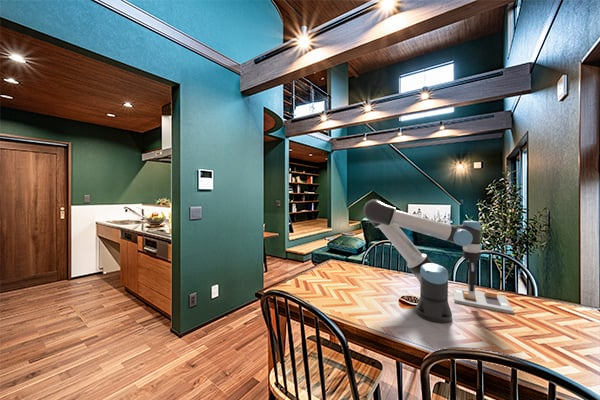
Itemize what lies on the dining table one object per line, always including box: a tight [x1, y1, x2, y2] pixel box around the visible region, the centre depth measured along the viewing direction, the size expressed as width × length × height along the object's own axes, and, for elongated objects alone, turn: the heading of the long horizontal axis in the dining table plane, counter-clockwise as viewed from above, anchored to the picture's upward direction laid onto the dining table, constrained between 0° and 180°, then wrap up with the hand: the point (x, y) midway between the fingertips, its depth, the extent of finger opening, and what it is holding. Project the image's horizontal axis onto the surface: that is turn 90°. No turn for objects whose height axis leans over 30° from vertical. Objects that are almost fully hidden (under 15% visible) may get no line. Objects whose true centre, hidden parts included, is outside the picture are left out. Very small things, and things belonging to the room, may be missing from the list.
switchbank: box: [453, 286, 515, 315], centre depth 131 cm, size 20×24×2 cm
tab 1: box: [464, 292, 476, 300], centre depth 130 cm, size 3×5×2 cm, turn 58°
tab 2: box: [484, 289, 498, 298], centre depth 131 cm, size 3×5×2 cm, turn 58°
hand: (471, 296), depth 124 cm, fingers closed
